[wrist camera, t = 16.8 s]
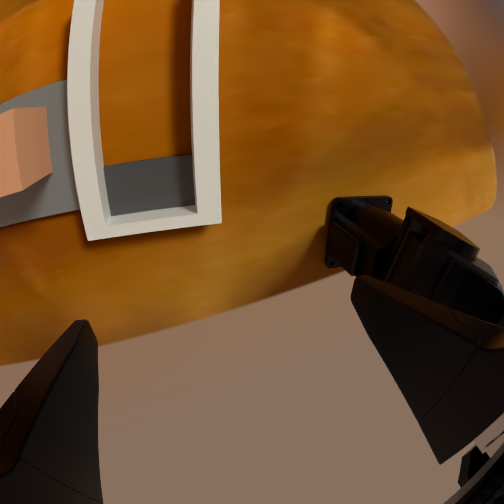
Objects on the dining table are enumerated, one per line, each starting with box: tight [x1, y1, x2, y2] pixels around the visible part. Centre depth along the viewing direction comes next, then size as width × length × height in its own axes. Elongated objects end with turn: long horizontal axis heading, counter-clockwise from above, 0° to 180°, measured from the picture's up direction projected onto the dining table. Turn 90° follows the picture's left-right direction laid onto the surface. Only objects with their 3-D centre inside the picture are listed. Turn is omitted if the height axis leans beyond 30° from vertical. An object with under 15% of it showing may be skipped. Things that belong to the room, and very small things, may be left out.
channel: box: [67, 0, 222, 241], centre depth 13 cm, size 9×17×2 cm, turn 0°
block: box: [0, 107, 53, 197], centre depth 10 cm, size 4×4×4 cm
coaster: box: [0, 79, 80, 227], centre depth 13 cm, size 9×9×1 cm
